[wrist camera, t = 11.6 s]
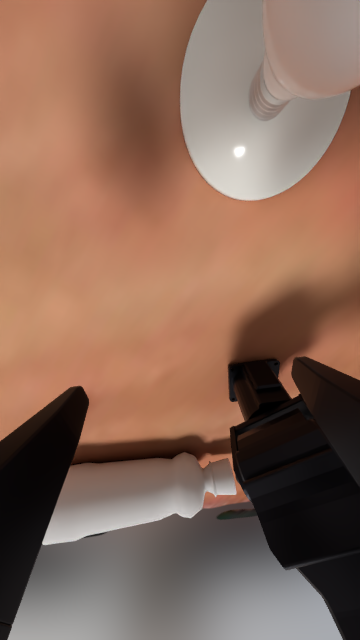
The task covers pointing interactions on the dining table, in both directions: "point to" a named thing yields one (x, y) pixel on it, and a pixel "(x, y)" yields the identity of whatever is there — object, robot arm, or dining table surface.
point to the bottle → (133, 494)
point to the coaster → (245, 109)
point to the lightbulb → (306, 53)
